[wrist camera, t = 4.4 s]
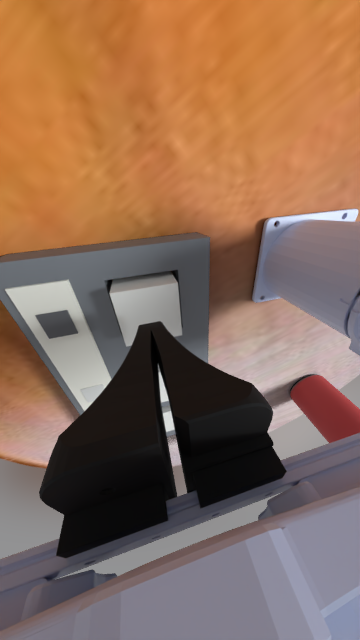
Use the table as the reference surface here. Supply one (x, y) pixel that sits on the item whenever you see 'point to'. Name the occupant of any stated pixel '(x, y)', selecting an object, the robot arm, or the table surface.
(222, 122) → the table surface
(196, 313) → the button board
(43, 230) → the table surface
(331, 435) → the beer can
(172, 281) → the key
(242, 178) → the table surface
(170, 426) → the key
